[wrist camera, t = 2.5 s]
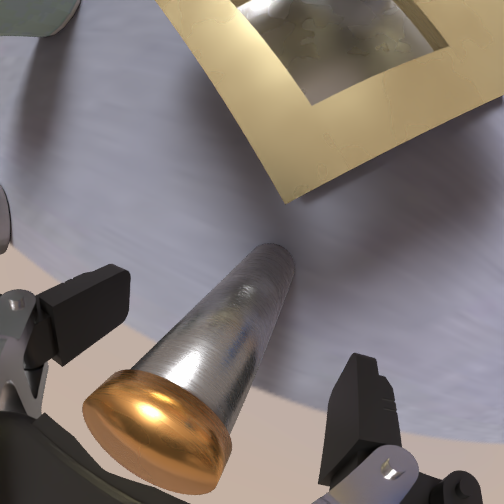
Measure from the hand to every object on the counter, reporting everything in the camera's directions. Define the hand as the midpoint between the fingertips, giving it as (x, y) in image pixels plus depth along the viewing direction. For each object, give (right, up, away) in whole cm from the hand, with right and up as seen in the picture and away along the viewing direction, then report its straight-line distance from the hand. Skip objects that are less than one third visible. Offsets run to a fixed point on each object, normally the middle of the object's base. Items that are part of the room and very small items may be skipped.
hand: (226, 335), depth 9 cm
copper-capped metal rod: (+2, +2, +9) cm, 9 cm away
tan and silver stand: (+7, +17, +4) cm, 18 cm away
